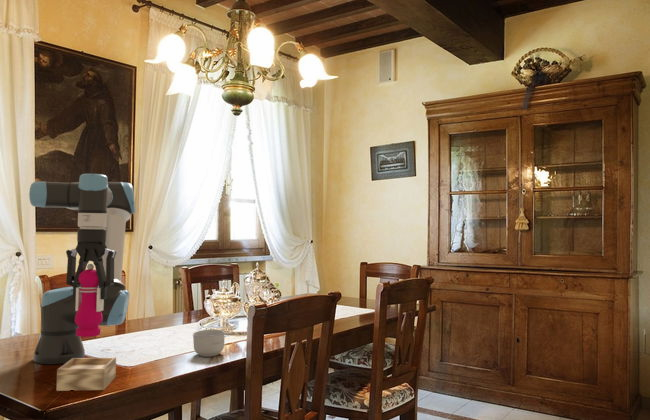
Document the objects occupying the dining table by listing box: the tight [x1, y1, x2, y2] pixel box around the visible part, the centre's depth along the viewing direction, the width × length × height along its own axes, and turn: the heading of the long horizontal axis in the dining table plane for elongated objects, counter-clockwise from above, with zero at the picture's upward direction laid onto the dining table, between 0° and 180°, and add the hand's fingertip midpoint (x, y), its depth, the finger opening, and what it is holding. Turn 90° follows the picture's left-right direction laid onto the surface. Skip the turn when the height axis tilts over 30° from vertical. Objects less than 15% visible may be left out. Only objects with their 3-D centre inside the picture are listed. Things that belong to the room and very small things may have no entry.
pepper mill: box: [75, 263, 103, 338], centre depth 151 cm, size 7×7×20 cm
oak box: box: [56, 357, 117, 392], centre depth 150 cm, size 12×12×6 cm
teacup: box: [192, 328, 225, 358], centre depth 187 cm, size 14×11×8 cm
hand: (89, 310), depth 151 cm, fingers closed on pepper mill, 5 cm apart
